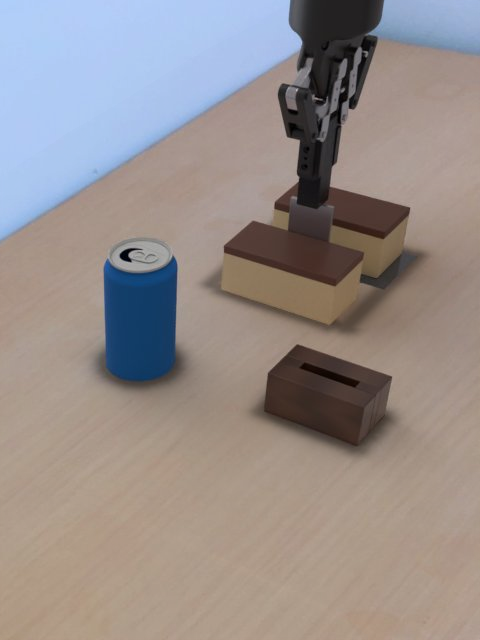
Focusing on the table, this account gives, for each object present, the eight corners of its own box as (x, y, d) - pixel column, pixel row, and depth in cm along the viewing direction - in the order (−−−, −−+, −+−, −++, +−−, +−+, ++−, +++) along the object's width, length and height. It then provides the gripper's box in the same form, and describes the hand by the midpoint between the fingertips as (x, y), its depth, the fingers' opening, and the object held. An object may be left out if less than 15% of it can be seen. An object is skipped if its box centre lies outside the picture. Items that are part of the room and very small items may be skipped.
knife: (330, 269, 108) (350, 116, 97) (319, 280, 107) (338, 126, 96) (291, 258, 111) (305, 106, 99) (279, 268, 110) (293, 116, 98)
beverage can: (125, 342, 107) (123, 228, 98) (185, 358, 105) (190, 242, 96) (94, 379, 104) (90, 264, 95) (156, 396, 102) (158, 279, 92)
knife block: (383, 423, 96) (393, 376, 92) (355, 455, 94) (364, 407, 90) (291, 390, 100) (296, 343, 96) (262, 419, 98) (267, 372, 94)
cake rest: (401, 253, 112) (411, 207, 108) (376, 278, 109) (385, 232, 105) (296, 223, 117) (301, 178, 113) (269, 247, 115) (274, 201, 111)
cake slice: (356, 298, 107) (364, 251, 103) (329, 326, 105) (336, 279, 101) (249, 265, 113) (252, 220, 109) (220, 290, 110) (223, 245, 107)
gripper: (341, 0, 84) (315, 214, 97) (424, -61, 90) (389, 148, 103) (255, -14, 87) (241, 194, 100) (340, -72, 93) (317, 131, 106)
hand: (316, 170), depth 101 cm, fingers closed on knife, 2 cm apart
